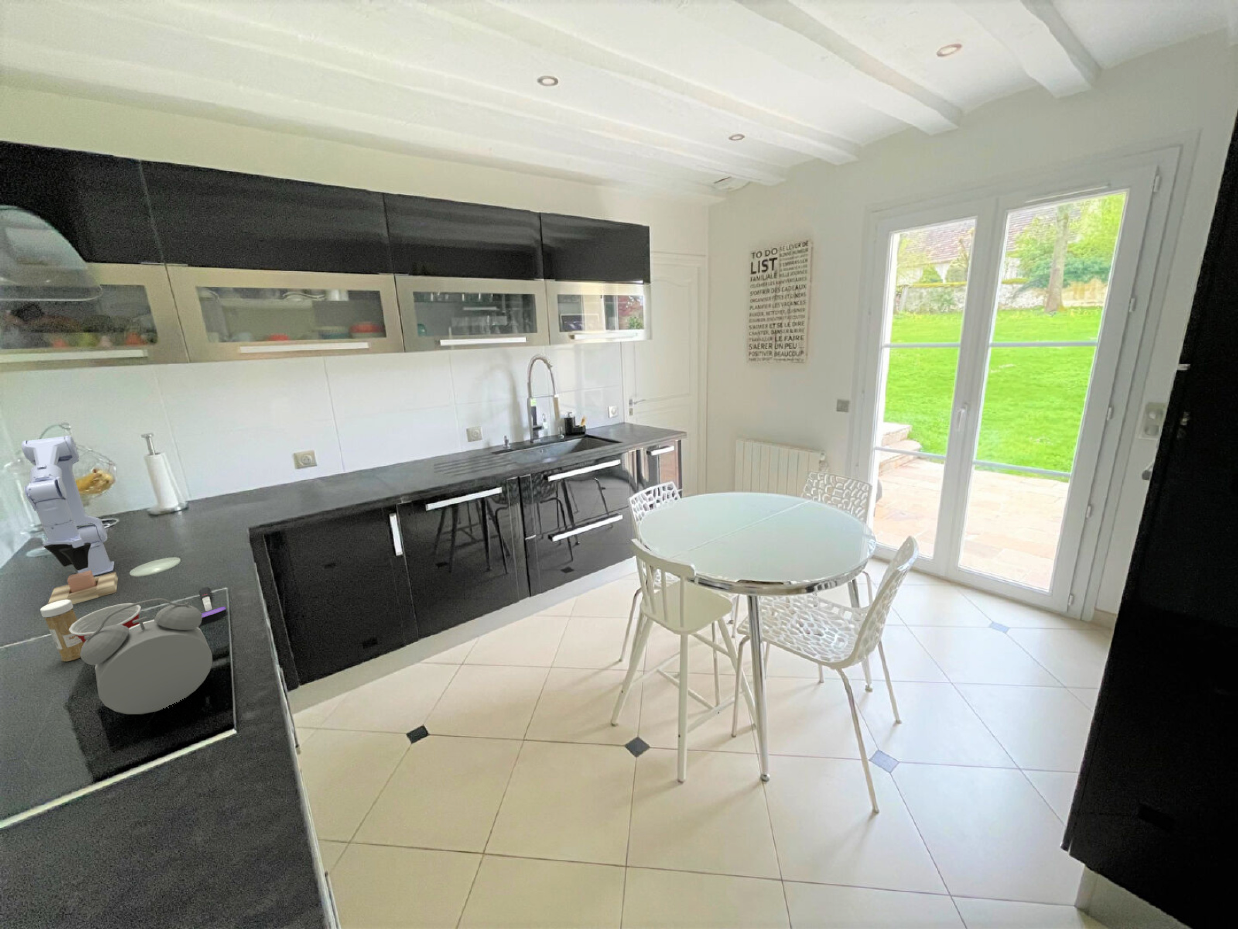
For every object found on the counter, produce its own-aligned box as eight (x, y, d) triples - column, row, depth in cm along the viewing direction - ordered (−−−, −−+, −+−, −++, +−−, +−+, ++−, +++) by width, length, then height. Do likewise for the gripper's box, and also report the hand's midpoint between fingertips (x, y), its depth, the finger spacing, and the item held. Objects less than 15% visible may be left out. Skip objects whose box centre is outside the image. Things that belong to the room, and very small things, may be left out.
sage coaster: (130, 568, 153) (130, 567, 153) (179, 555, 161) (179, 554, 161) (129, 580, 145) (129, 578, 144) (181, 566, 153) (181, 564, 152)
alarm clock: (218, 670, 101) (189, 578, 95) (227, 688, 95) (196, 591, 89) (108, 717, 89) (67, 615, 83) (111, 741, 83) (66, 633, 78)
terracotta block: (76, 594, 138) (68, 575, 136) (98, 588, 141) (91, 570, 139) (74, 599, 135) (67, 580, 133) (96, 593, 138) (89, 574, 136)
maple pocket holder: (56, 594, 138) (54, 588, 137) (117, 578, 146) (115, 572, 146) (50, 610, 129) (47, 603, 129) (116, 592, 138) (113, 585, 137)
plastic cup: (86, 688, 97) (66, 638, 94) (89, 665, 105) (69, 618, 102) (158, 661, 105) (141, 614, 102) (155, 641, 112) (139, 597, 109)
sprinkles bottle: (86, 657, 108) (65, 605, 104) (58, 665, 106) (35, 612, 102) (94, 646, 112) (73, 596, 108) (66, 654, 109) (44, 603, 106)
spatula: (190, 595, 134) (187, 587, 134) (220, 586, 139) (218, 578, 138) (194, 629, 117) (191, 620, 117) (228, 617, 122) (225, 609, 121)
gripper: (24, 525, 129) (43, 569, 133) (49, 531, 124) (68, 577, 127) (61, 515, 135) (77, 558, 139) (86, 521, 130) (103, 565, 134)
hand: (75, 566), depth 134 cm, fingers open, 7 cm apart
